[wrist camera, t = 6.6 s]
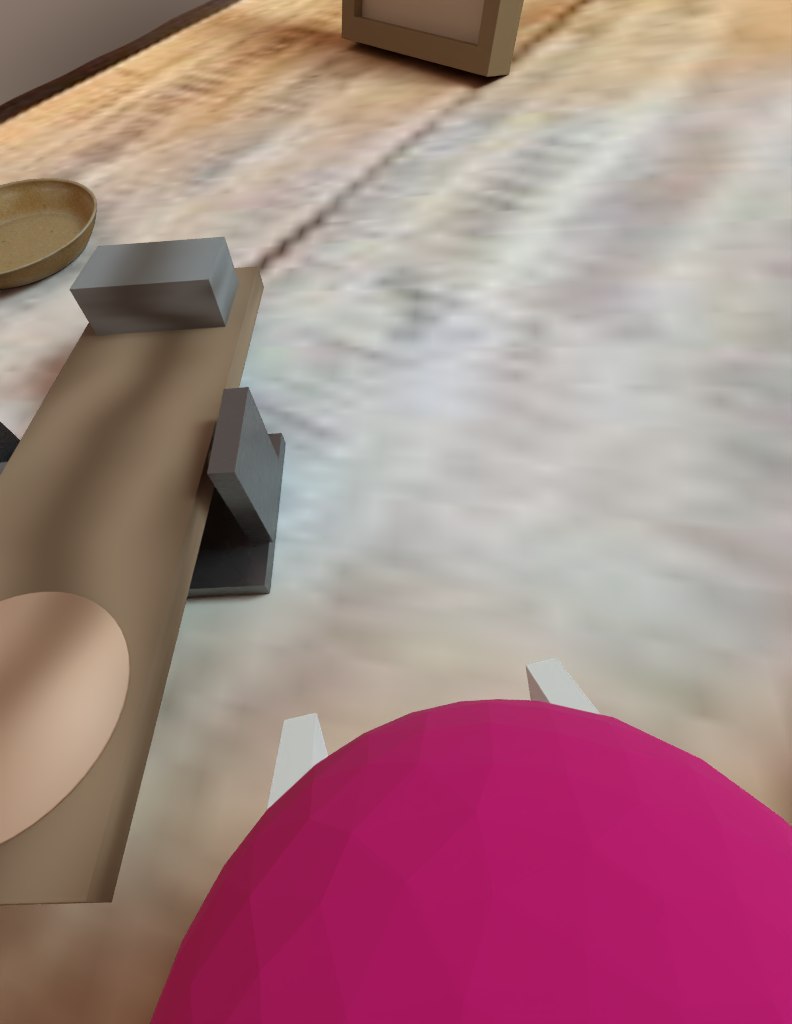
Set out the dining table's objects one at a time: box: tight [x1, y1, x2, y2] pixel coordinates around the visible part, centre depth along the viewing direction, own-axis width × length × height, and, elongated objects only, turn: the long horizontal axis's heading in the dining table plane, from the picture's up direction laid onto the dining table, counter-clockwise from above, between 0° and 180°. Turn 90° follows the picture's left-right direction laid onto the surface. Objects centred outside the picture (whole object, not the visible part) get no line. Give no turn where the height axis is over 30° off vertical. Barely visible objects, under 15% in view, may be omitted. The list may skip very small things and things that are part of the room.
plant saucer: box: [0, 178, 97, 289], centre depth 45 cm, size 15×15×3 cm
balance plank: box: [0, 237, 264, 905], centre depth 25 cm, size 11×35×4 cm, turn 2°
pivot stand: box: [0, 387, 286, 597], centre depth 27 cm, size 14×10×7 cm
